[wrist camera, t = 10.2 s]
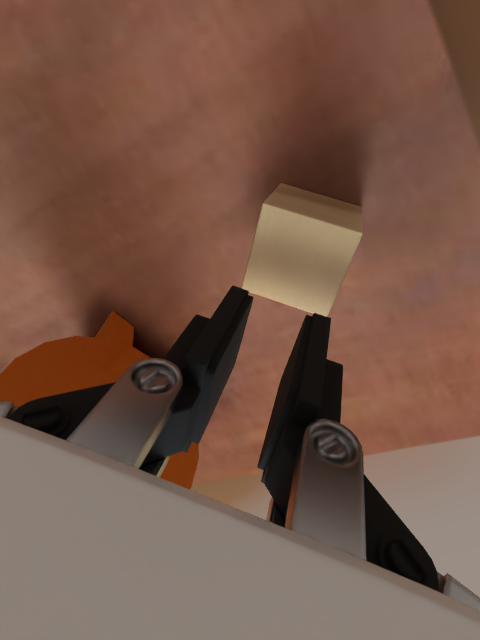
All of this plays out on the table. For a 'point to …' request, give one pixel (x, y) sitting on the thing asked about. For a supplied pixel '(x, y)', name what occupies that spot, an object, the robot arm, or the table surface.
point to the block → (302, 248)
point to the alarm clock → (85, 377)
